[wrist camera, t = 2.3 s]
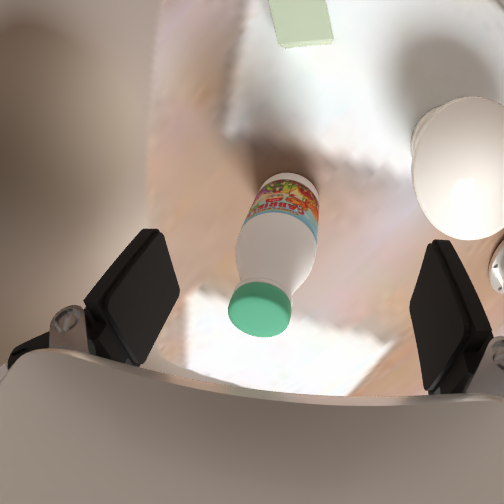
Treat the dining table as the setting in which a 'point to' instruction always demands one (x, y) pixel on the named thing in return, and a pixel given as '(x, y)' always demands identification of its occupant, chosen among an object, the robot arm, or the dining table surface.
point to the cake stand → (461, 167)
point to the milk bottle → (274, 254)
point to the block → (301, 22)
